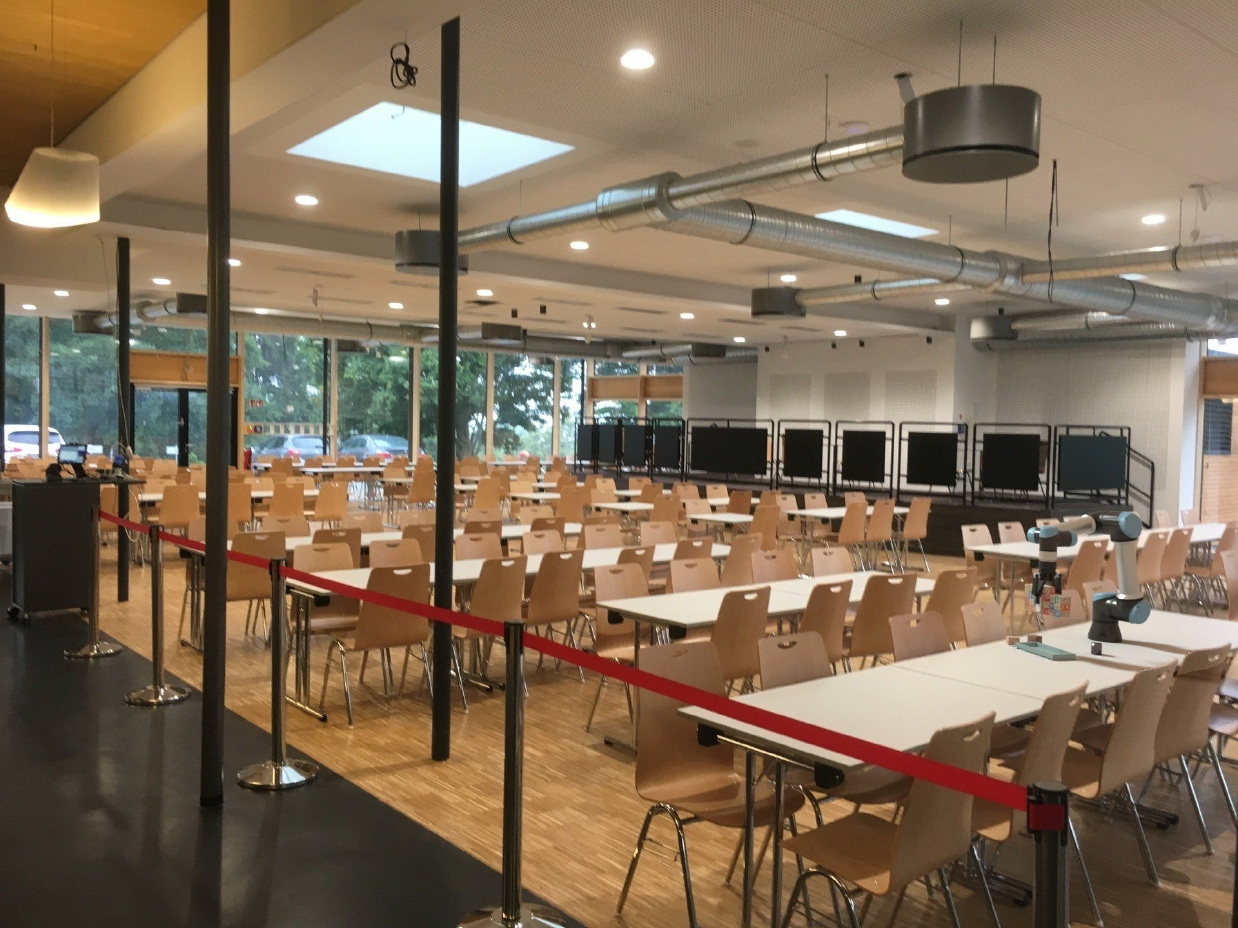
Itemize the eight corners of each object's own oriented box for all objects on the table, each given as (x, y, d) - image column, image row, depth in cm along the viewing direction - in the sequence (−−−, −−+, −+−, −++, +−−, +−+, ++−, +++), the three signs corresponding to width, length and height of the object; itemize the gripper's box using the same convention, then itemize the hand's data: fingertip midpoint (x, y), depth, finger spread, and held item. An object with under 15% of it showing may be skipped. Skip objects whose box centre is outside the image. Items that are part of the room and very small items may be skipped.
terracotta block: (1017, 644, 463) (1017, 636, 463) (1019, 646, 459) (1019, 637, 459) (1006, 644, 464) (1006, 635, 464) (1008, 645, 460) (1008, 637, 460)
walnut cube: (1033, 643, 466) (1034, 634, 466) (1041, 645, 462) (1042, 636, 462) (1027, 644, 464) (1027, 635, 464) (1035, 646, 460) (1035, 636, 460)
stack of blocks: (1070, 617, 434) (1071, 589, 434) (1059, 617, 432) (1060, 590, 432) (1034, 609, 454) (1035, 582, 454) (1023, 609, 452) (1024, 583, 452)
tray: (1036, 647, 458) (1037, 641, 458) (1075, 659, 432) (1075, 653, 432) (1014, 647, 455) (1015, 642, 455) (1052, 660, 429) (1052, 654, 429)
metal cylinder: (1097, 653, 448) (1098, 642, 448) (1103, 654, 443) (1104, 643, 443) (1088, 653, 447) (1089, 642, 447) (1094, 654, 443) (1095, 643, 443)
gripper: (1061, 559, 449) (1059, 609, 449) (1023, 559, 444) (1021, 609, 445) (1072, 561, 442) (1070, 612, 442) (1033, 561, 437) (1032, 612, 438)
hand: (1045, 611), depth 443 cm, fingers closed on stack of blocks, 7 cm apart
